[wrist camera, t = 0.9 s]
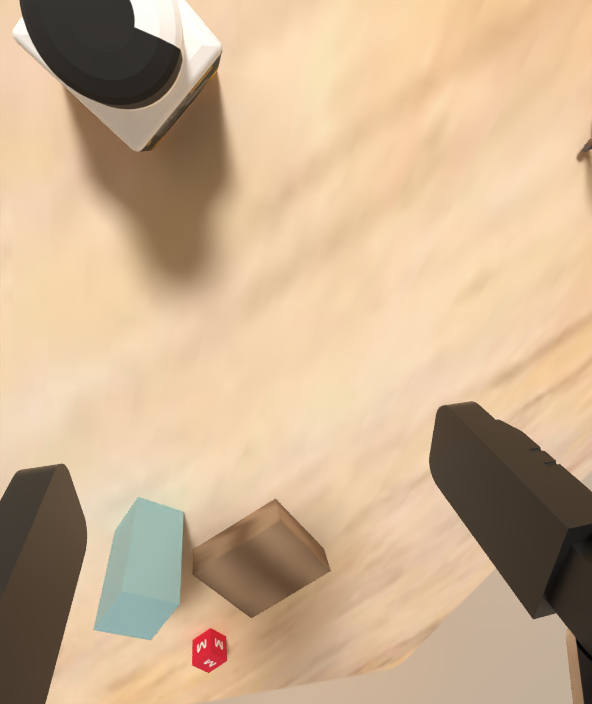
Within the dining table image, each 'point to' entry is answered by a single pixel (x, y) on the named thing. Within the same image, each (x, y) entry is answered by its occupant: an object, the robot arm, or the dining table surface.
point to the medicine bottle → (123, 59)
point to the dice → (209, 650)
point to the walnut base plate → (260, 559)
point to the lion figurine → (588, 145)
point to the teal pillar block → (142, 572)
